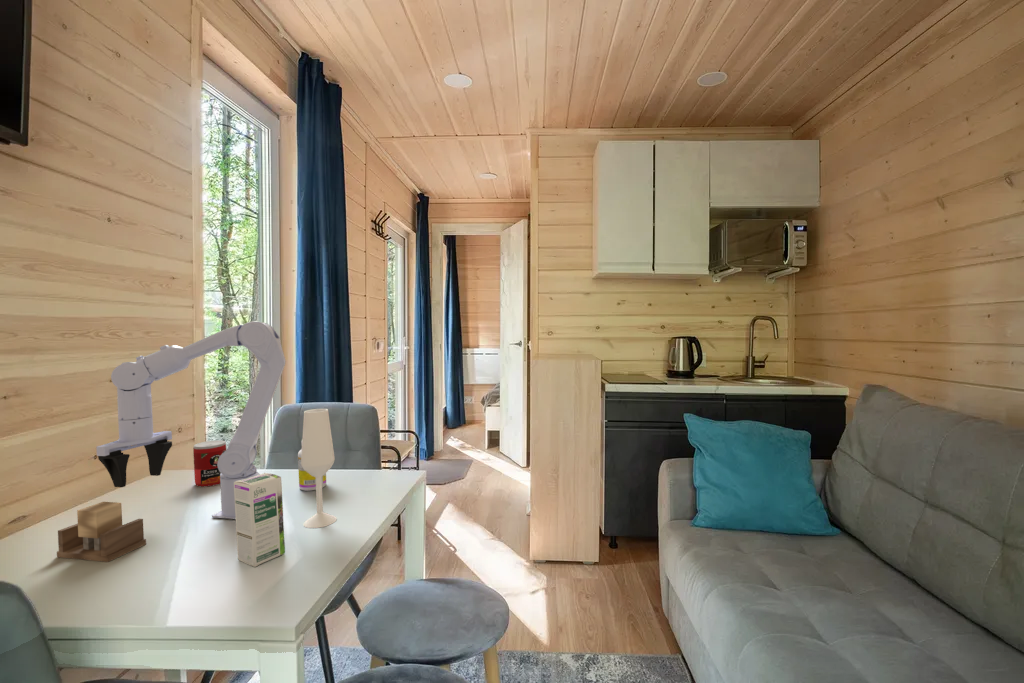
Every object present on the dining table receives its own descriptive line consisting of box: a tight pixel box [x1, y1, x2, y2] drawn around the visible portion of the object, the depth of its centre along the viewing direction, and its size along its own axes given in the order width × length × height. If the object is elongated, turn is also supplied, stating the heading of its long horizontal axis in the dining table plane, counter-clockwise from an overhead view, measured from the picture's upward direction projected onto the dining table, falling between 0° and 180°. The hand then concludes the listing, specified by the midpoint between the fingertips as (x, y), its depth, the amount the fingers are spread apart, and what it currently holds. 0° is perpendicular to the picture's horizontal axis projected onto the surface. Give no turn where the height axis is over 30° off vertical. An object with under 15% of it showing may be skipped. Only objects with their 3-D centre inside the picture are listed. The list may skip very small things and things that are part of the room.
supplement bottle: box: [297, 439, 327, 492], centre depth 122 cm, size 7×7×13 cm
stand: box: [56, 518, 147, 563], centre depth 88 cm, size 12×7×5 cm, turn 78°
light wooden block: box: [76, 501, 123, 538], centre depth 88 cm, size 4×4×5 cm
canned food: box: [192, 439, 227, 488], centre depth 128 cm, size 8×8×11 cm
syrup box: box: [234, 472, 286, 568], centre depth 83 cm, size 6×6×14 cm
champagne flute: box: [301, 408, 337, 529], centre depth 99 cm, size 7×7×24 cm
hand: (138, 480), depth 99 cm, fingers open, 7 cm apart
